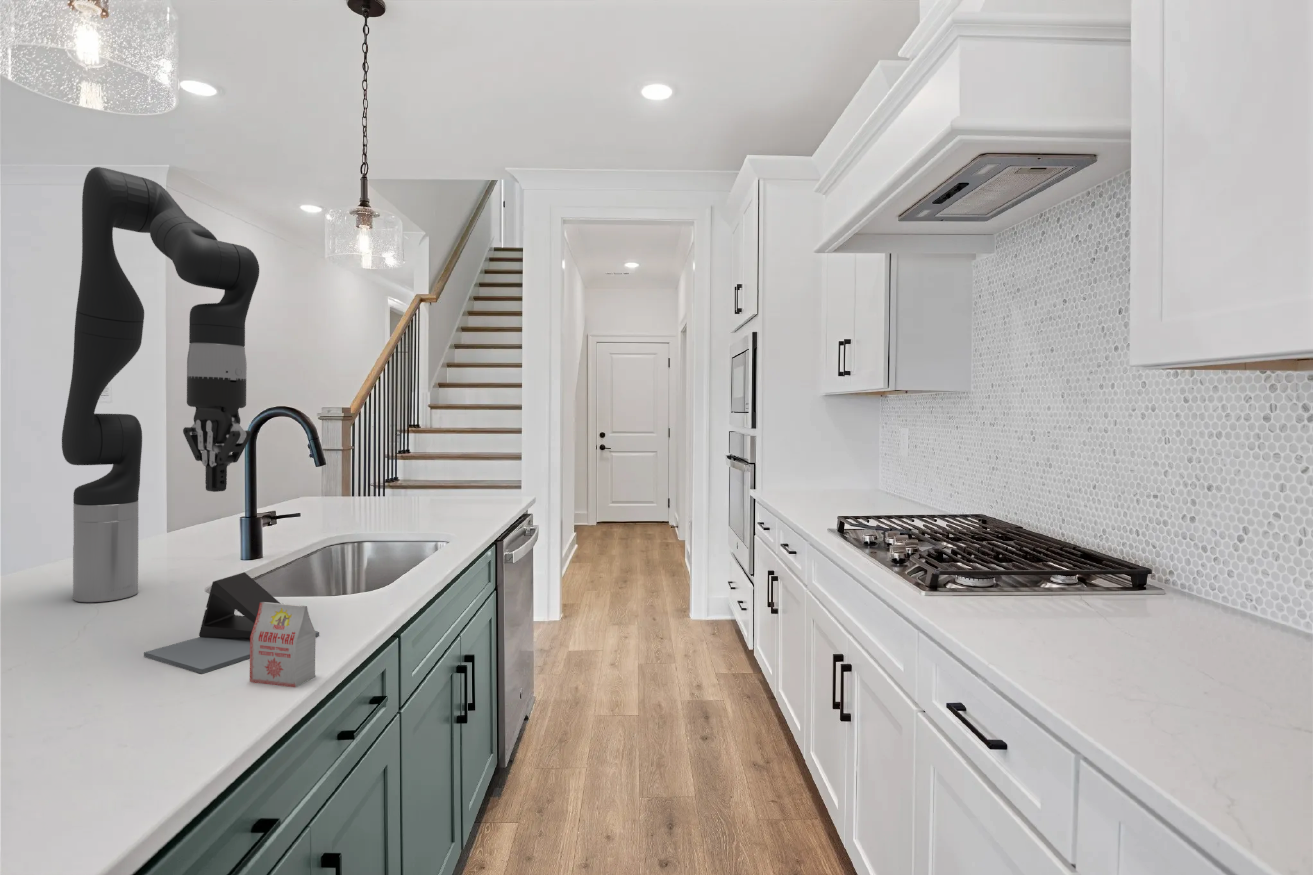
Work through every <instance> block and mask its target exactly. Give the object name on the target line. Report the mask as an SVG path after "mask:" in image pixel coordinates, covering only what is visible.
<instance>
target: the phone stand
mask: <svg viewBox="0 0 1313 875" xmlns="http://www.w3.org/2000/svg"><path fill="white" fill-rule="evenodd" d="M262 602H269V603H279V604H282V603H281V602H280V601H279V600H277V599H276V598H275V597H274V596H273V595H272V594H270V592H268V591H267V590H266V589H265V588H264V587H263V586H261V585H260V584H259V583H258V582H257V581H255V580H254V579H253V578H252V577H251V576H250V575H249V574H247V572H240V573H238V574H233V575H231V576H227V577H224V578H220V579H217V580H214V581H212V583H211V587H210V591H209V595H208V599H207V602H206V606H205V608H206V609H204V614H203V618H202V622H201V625H200V629H199V634H198V637H234V638H250V636H251V633H252V630H253V627H254V624H255V621H256V617H257V614H258V610H259V605H260V603H262ZM235 611H237V612H239V613H240V614H241V615H238V614H235Z"/></svg>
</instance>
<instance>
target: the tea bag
mask: <svg viewBox="0 0 1313 875" xmlns="http://www.w3.org/2000/svg"><path fill="white" fill-rule="evenodd" d="M308 610H309V609H308V606H307V605H300V604H299V605H298V604H289V603H281V604H279V603H269V602H262V603H260V605H259V610H258V614H257V617H256V621H255V624H254V627H253V630H252V633H251V636H250V658H249V683H256V684H257V683H258V684H264V685H265V684H266V685H272V686H273V685H274V686H281V687H291V688H298V687H299V686H301V685H302V684H304V683H306V682H308V681H310V680H312V679H313V678H315V677H316V638H317V637H316V633H315V631H316V630H315V627H314V625H313V622H312V620H311V618H310V614H309V611H308Z"/></svg>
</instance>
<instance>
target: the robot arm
mask: <svg viewBox="0 0 1313 875" xmlns="http://www.w3.org/2000/svg"><path fill="white" fill-rule="evenodd" d="M81 196H82V199H81V202H82V203H81V204H82V205H81V227H82V228H81V230H82V231H81V236H82V237H81V241H82V242H81V244H82V246H81V248H82V250H81V266H80V267H81V268H80V276H79V277H80V279H79V287H78V295H77V302H76V309H75V310H76V311H75V320H74V334H73V335H74V336H73V340H74V341H73V359H72V371H71V379H70V380H71V381H70V385H69V386H70V387H69V391H68V398H67V404H66V409H65V414H64V419H63V426H62V432H61V433H62V434H61V449H62V455H63V457H64V460H65V462H66V463H68V464H69V465H73V466H104V465H105V466H106V465H112V467H111V469H110V471H109V472H108V473H107V474H105V475H103V476H102V477H100V478H98V479H95V480H93V481H91V482H87V483H84V484H82V485H78V486H77V487H75V489H74V490H73V494H72V495H73V501H72V502H73V510H72V511H73V513H72V514H73V545H72V546H73V547H72V596H73V601H75V602H79V603H100V602H101V603H102V602H108V601H109V602H110V601H116V600H123V599H125V598H130V597H133V596H135V595H137V594H138V593H139V492H140V484H141V464H142V463H141V462H142V461H141V460H142V452H143V431H142V425H141V423H140V421H139V419H138V418H137V416H135V415H133V414H127V413H95V411H96V409H97V405H98V401H99V400H100V398H101V395H102V394H103V392H104V390H105V389H106V388H107V386H108V385H109V384H110V382H111V381H112V380H113V379H114V378H115V377H116V375H118V374H119V373H120V372H121V371H122V370H123V369H124V368H125V367H126V365H128V364H129V363H130V362H131V361H132V360H133V358H134V357H135V356H136V354H137V353H138V352H139V350H140V348H141V345H142V339H143V332H144V331H143V329H144V322H145V310H144V305H143V302H142V301H141V298H140V297H139V295H138V293H137V292H136V290H135V288H134V286H133V284H132V283H131V281H130V280H129V279H128V277H127V275H126V273H125V272H124V270H123V268H122V266H121V264H120V262H119V260H118V258H117V255H116V251H115V246H114V245H115V244H114V239H113V235H114V234H113V231H114V229H115V228H116V229H120V230H126V231H130V232H136V233H143V234H149V236H150V238H151V241H152V243H153V245H154V246H155V247H156V248H157V250H159V252H160V253H162V254H163V255H165V257H167V258H168V259H169V260H171V262H172V263H173V265H174V268H175V272H176V274H177V276H178V277H179V278H180V279H181V280H182V281H184V282H186V283H189V284H191V285H193V286H197V287H203V288H210V289H214V290H215V289H216V290H221V291H224V292H223V295H222V298H221V299H220V301H219V302H215V303H214V302H211V303H199V304H195V305H193V306H192V307H191V308H190V311H189V326H188V327H189V328H188V329H189V330H188V331H189V332H188V334H189V335H188V336H189V337H188V340H189V344H188V352H187V357H186V405H187V406H189V407H191V408H192V407H193V408H195V412H194V415H193V424H192V425H191V427H190V426H184V427H183V429H182V433H183V435H184V438H185V440H186V442H187V445H188V447H189V448H190V450H191V452H192V455H193V457H194V459H195V461H196V462H201V463H202V465H203V467H205V491H207V492H214V493H215V492H224V491H226V489H227V485H228V484H227V482H228V481H227V478H228V466H230V465H231V464H232V463H233V464H234V463H238V461H239V459H240V458H241V456H242V453H243V452H244V450H245V448H246V447H247V445H248V444H249V441H250V439H251V437H252V431H250V430H244V428H243V427H241V425H240V424H241V416H240V413H239V409H244V408H245V407H246V406H247V370H248V369H247V368H248V367H247V363H248V362H247V356H246V320H247V315H248V311H249V308H250V304H251V302H252V298H253V296H254V295H253V294H254V292H255V290H256V286H257V284H258V282H259V276H260V264H259V260H258V258H257V256H256V255H255V253H254V251H252V250H251V249H250V248H248V247H246V246H244V245H240V244H235V243H231V242H230V243H229V242H225V241H221V240H218V239H217V237H216V236H215V235H214V234H213V233H212V232H211V230H209V229H208V228H206V227H205V226H203V225H202V224H200V223H199V222H197V221H196V220H194V219H193V218H191V217H190V216H189V215H187V214H186V213H185V211H184V210H183V208H181V207H180V205H179V204H178V203H177V201H176V200H175V199H174V198H173V197H172V196H171V194H170V193H169V192H168V191H167V190H166V188H164V187H163V186H162V185H161V184H160V183H158V182H156V181H154V180H152V179H149V178H146V177H144V176H143V177H142V176H138V175H134V174H130V173H126V172H122V171H118V170H115V169H110V168H106V167H100V166H95V167H93V168H91V169H90V170H88V173H86V176H85V178H84V182H83V189H82V195H81Z"/></svg>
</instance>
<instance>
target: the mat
mask: <svg viewBox="0 0 1313 875" xmlns="http://www.w3.org/2000/svg"><path fill="white" fill-rule="evenodd" d="M315 633H316V638H317V637H319V636H320V631H316V630H315ZM143 657H144V658H148V659H151V660H154V661H158V662H160V663H163V664H168V665H170V666H175V667H178V668H180V669H185V670H188V671H192V672H194V673H197V674H198V673H199V674H201V675H203V674H205V673H209V672H212V671H215V670H218V669H221V668H223V667H228V666H230V665H233V664H236V663H240V662H243V661H245V660H250V638H234V637H200V636H198V637H194V638H190V639H187V640H184V641H179V642H176V643H173V644H169V645H166V646H162V647H158V648H154V649H151V650H148V651H144V652H143Z"/></svg>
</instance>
